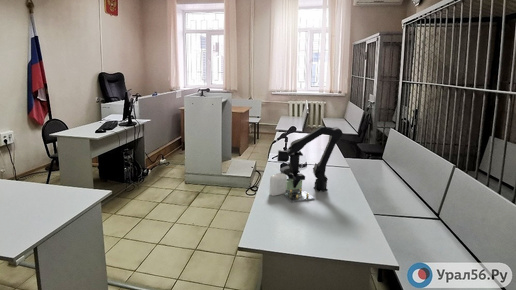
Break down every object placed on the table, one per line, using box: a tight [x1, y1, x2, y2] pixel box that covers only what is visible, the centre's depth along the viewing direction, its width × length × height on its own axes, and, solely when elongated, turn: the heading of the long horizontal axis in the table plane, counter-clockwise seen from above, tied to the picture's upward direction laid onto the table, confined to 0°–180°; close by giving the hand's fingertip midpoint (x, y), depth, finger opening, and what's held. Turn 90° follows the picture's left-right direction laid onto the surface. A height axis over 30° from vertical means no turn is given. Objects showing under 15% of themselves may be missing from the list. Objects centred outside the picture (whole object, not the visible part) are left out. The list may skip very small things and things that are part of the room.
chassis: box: [283, 187, 315, 203], centre depth 187 cm, size 14×11×4 cm
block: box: [286, 178, 303, 191], centre depth 201 cm, size 10×4×6 cm, turn 110°
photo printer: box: [268, 172, 288, 197], centre depth 190 cm, size 10×4×12 cm, turn 123°
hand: (292, 186), depth 201 cm, fingers closed on block, 4 cm apart
